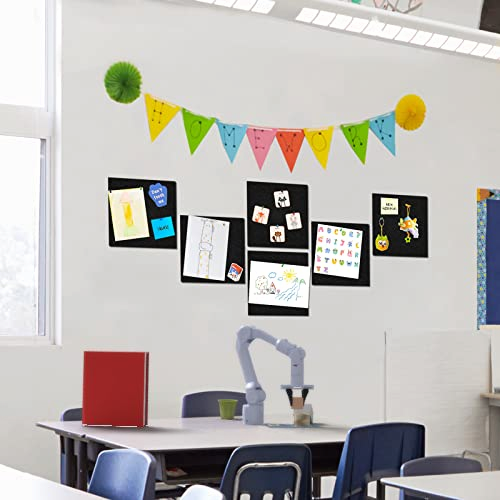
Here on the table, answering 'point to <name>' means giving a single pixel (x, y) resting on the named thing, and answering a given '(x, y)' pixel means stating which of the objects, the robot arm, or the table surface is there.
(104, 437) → the table surface
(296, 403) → the terracotta block
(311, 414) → the small box
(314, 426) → the blueprint mat
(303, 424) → the maple base block
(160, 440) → the table surface
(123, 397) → the book
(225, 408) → the plant pot
